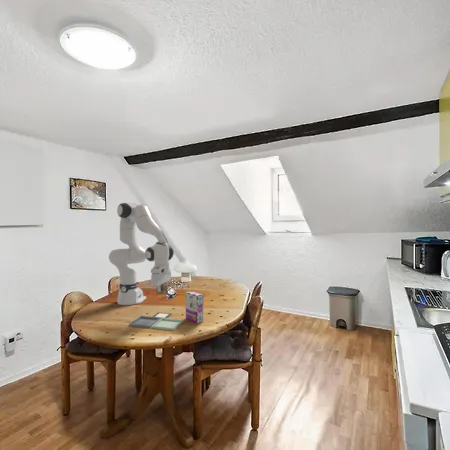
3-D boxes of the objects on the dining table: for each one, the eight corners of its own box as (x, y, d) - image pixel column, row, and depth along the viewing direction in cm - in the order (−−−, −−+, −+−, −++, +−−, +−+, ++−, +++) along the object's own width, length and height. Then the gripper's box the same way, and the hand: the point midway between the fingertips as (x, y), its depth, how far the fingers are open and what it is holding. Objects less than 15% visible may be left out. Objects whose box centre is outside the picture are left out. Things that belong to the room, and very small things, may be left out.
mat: (158, 312, 177) (158, 312, 177) (172, 314, 175) (172, 313, 175) (150, 318, 167) (150, 317, 167) (165, 319, 165) (165, 318, 165)
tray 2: (162, 320, 164) (162, 317, 164) (183, 322, 161) (183, 319, 161) (151, 328, 151) (151, 325, 151) (173, 331, 148) (173, 328, 148)
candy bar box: (203, 321, 162) (203, 294, 162) (197, 324, 158) (197, 295, 158) (192, 317, 170) (192, 290, 170) (185, 319, 166) (185, 292, 166)
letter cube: (160, 291, 174) (160, 283, 174) (167, 292, 173) (167, 284, 173) (156, 293, 169) (156, 285, 169) (164, 294, 168) (164, 285, 168)
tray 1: (141, 318, 167) (141, 315, 167) (161, 320, 164) (161, 317, 164) (128, 326, 155) (128, 323, 154) (150, 328, 151) (150, 325, 151)
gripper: (164, 265, 181) (164, 286, 182) (149, 270, 162) (149, 294, 162) (173, 265, 180) (173, 286, 180) (159, 271, 160) (159, 294, 160)
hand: (161, 290), depth 171 cm, fingers closed on letter cube, 5 cm apart
